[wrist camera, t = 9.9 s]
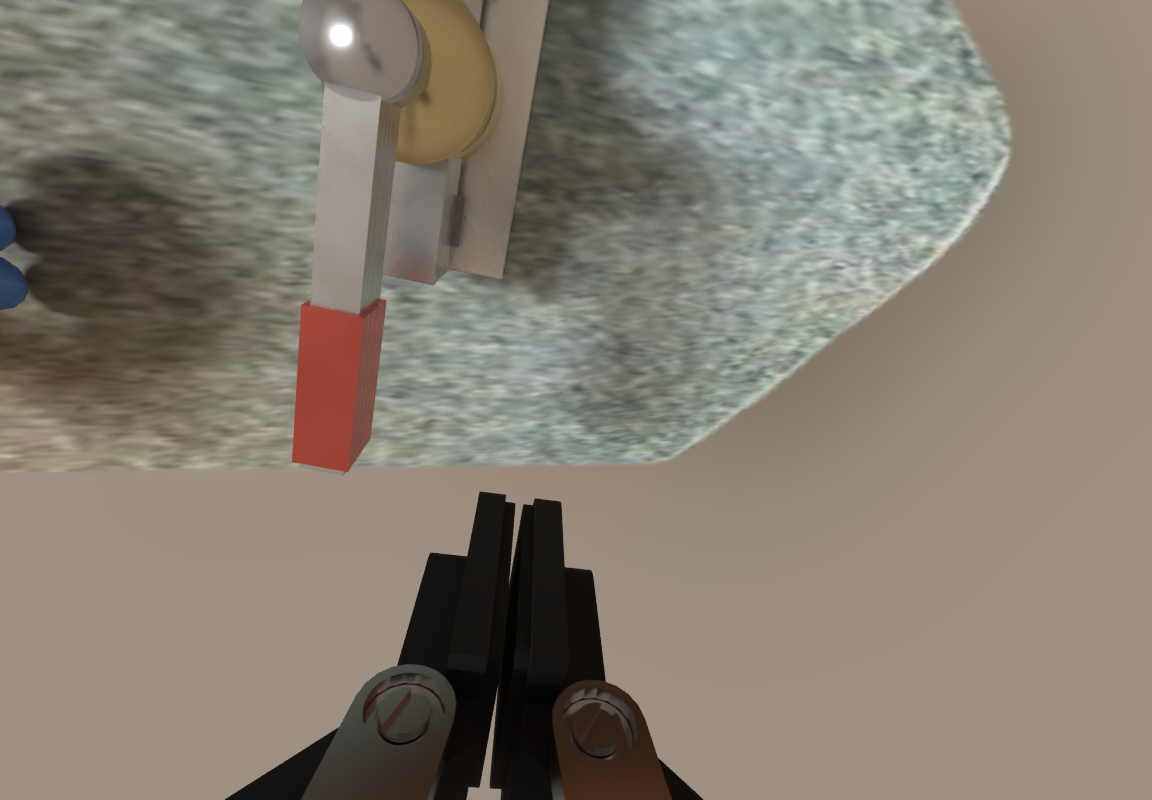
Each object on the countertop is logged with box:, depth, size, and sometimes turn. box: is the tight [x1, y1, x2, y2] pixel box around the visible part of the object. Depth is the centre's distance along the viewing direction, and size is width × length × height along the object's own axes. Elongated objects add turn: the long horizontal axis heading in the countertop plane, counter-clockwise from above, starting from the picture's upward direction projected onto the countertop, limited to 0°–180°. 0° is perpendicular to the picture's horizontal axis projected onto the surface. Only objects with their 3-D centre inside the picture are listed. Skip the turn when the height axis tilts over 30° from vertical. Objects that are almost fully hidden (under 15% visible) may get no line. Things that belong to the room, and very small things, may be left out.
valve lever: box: [292, 0, 432, 475], centre depth 19 cm, size 16×3×3 cm, turn 166°
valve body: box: [321, 0, 550, 285], centre depth 23 cm, size 16×9×10 cm, turn 168°
